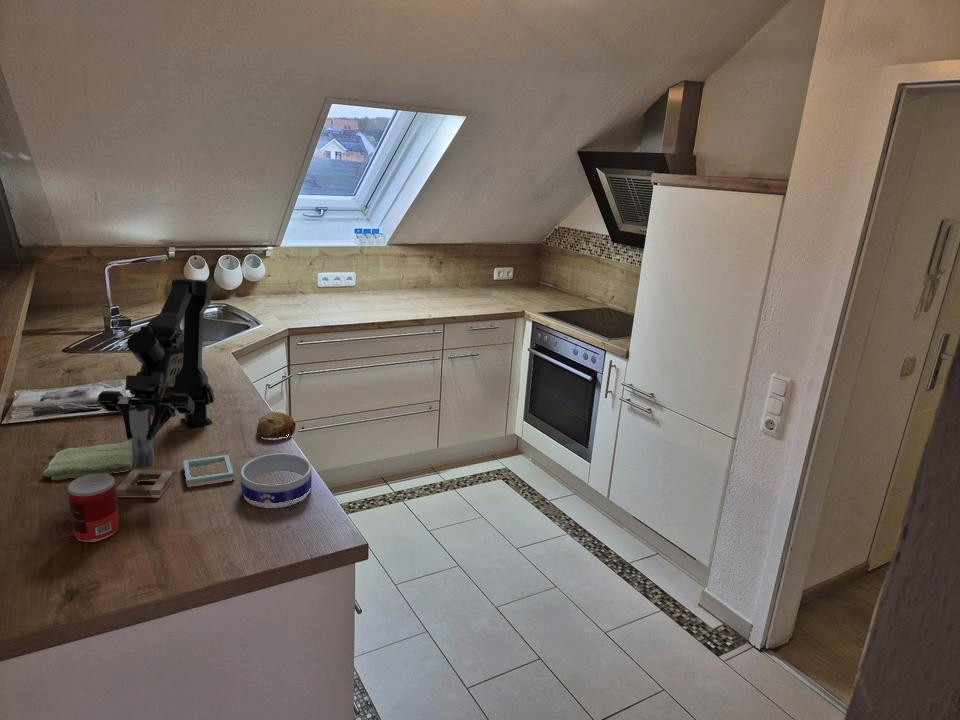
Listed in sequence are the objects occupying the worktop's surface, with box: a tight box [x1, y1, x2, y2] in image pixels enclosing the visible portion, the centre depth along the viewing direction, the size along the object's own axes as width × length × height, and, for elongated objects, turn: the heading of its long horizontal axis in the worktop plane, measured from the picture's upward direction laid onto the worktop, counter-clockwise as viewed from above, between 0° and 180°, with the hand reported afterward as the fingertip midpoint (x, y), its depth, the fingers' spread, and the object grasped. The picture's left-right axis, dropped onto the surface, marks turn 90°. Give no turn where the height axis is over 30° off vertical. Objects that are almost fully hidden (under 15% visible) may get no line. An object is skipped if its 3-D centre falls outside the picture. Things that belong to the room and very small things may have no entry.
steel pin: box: [129, 406, 155, 469], centre depth 139 cm, size 4×4×13 cm
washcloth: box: [43, 441, 134, 481], centre depth 151 cm, size 13×18×3 cm
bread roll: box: [256, 410, 297, 438], centre depth 174 cm, size 10×10×8 cm
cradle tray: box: [182, 454, 235, 485], centre depth 150 cm, size 10×10×2 cm
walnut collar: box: [116, 469, 175, 496], centre depth 143 cm, size 9×9×2 cm
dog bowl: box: [240, 452, 313, 503], centre depth 145 cm, size 15×15×6 cm
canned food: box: [67, 473, 121, 540], centre depth 125 cm, size 8×8×11 cm
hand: (139, 439), depth 138 cm, fingers closed on steel pin, 4 cm apart
